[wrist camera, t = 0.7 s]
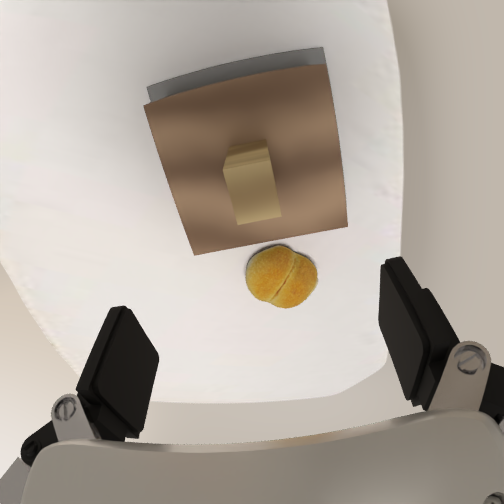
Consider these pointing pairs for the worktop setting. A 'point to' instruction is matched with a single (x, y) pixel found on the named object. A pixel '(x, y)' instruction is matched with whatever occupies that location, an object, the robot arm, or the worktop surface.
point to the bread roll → (281, 277)
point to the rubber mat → (238, 72)
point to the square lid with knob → (252, 158)
